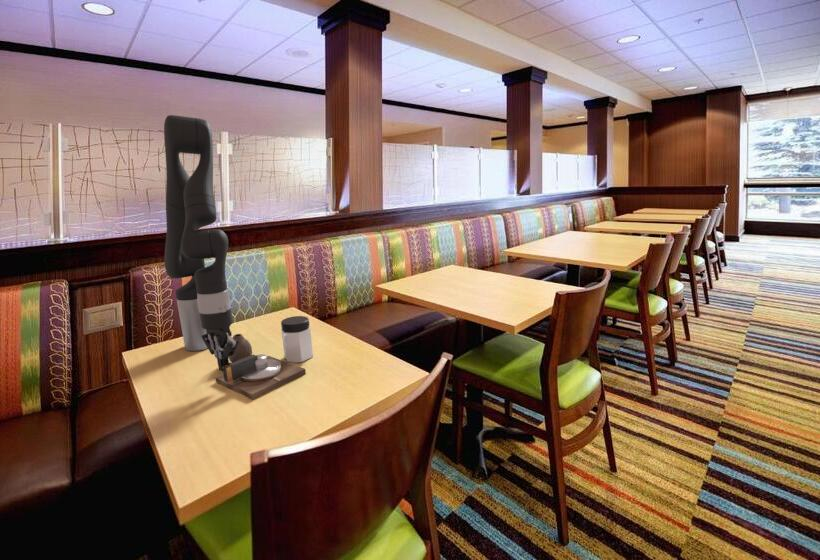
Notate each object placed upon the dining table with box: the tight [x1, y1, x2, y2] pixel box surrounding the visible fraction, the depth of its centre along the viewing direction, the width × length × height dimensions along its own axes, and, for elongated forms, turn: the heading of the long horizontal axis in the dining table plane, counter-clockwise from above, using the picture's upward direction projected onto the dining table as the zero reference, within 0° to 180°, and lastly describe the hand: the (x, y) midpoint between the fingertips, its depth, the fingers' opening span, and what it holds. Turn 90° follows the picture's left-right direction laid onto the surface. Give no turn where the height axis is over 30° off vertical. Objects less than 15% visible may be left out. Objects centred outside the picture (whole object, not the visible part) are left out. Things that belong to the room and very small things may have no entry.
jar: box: [280, 315, 314, 363], centre depth 130 cm, size 9×8×12 cm
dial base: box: [214, 355, 307, 400], centre depth 118 cm, size 17×17×2 cm
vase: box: [228, 333, 253, 363], centre depth 128 cm, size 7×7×9 cm
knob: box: [222, 353, 281, 383], centre depth 115 cm, size 16×11×6 cm
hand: (224, 370), depth 113 cm, fingers closed
